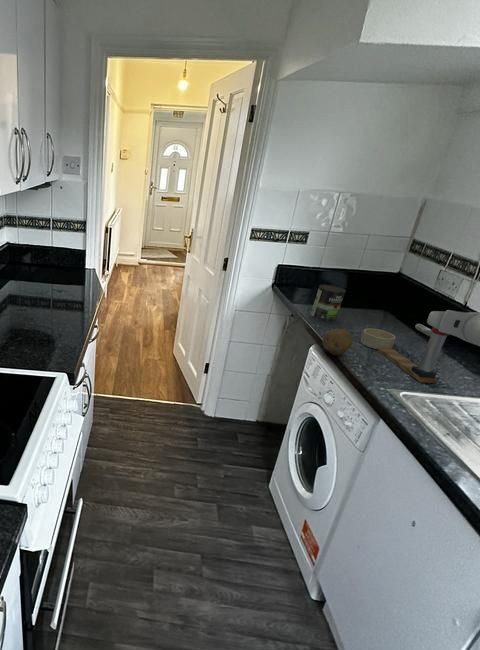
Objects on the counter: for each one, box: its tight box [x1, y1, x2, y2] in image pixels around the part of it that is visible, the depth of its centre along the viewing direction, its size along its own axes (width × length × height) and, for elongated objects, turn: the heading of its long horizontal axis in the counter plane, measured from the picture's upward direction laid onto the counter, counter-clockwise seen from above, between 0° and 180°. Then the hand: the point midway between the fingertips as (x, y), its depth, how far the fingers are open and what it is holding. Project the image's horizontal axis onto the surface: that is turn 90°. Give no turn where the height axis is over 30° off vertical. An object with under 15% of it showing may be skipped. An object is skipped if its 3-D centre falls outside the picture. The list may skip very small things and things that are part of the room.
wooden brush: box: [377, 348, 438, 384], centre depth 141 cm, size 22×5×2 cm, turn 179°
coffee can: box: [309, 284, 347, 323], centre depth 179 cm, size 10×10×14 cm
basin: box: [359, 327, 397, 350], centre depth 156 cm, size 10×10×5 cm
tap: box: [411, 323, 450, 378], centre depth 134 cm, size 12×5×16 cm, turn 179°
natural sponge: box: [321, 328, 354, 356], centre depth 145 cm, size 9×9×10 cm
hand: (462, 324), depth 124 cm, fingers open, 8 cm apart
